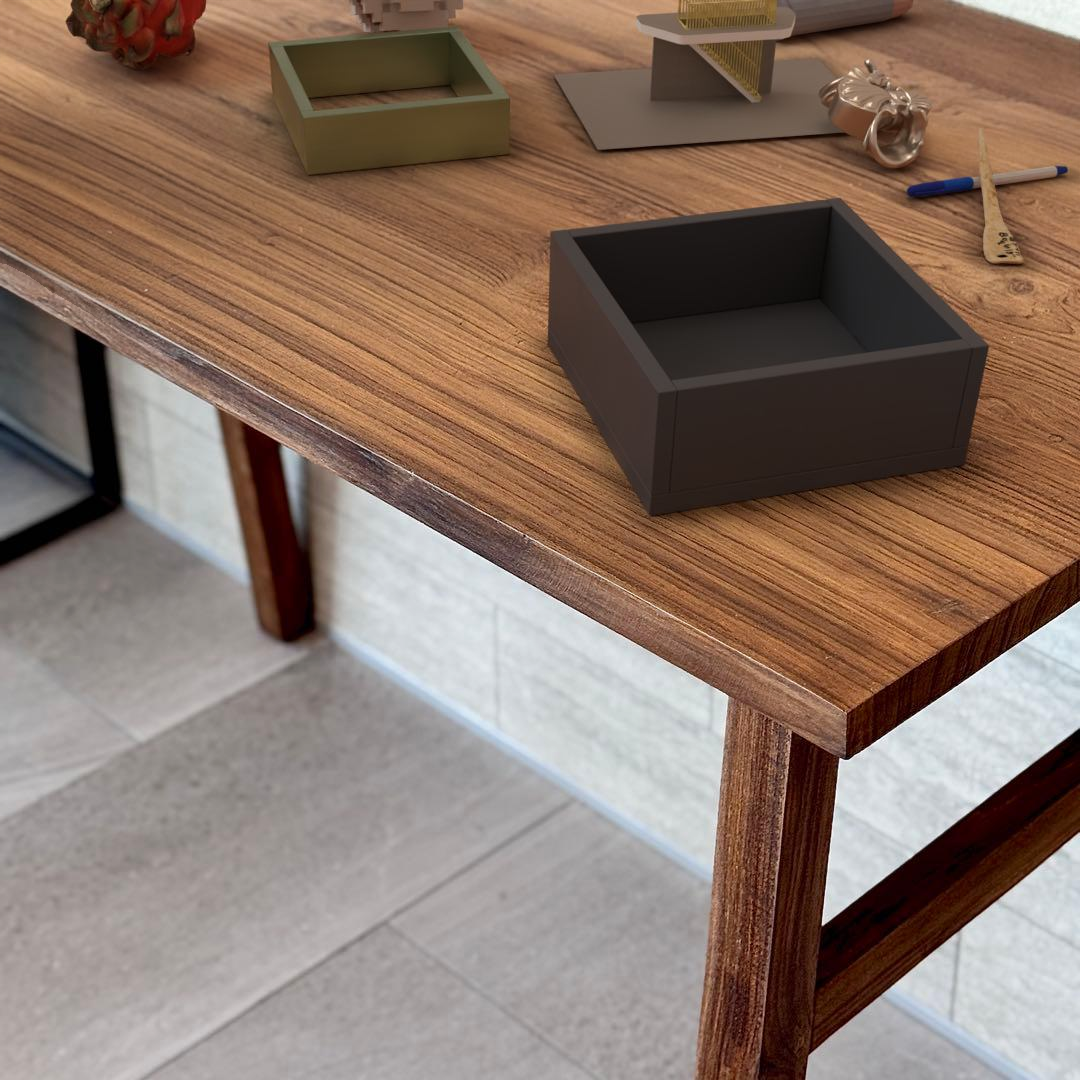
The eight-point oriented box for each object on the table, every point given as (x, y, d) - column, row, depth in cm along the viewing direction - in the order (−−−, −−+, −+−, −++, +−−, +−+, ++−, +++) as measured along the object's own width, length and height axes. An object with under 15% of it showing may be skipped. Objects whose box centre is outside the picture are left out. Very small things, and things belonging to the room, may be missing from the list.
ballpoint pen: (903, 198, 95) (912, 205, 94) (905, 183, 94) (914, 190, 93) (1061, 171, 98) (1071, 178, 97) (1064, 157, 97) (1074, 164, 96)
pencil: (781, 49, 113) (791, 8, 111) (757, 27, 115) (767, -13, 113) (912, 27, 118) (924, -12, 116) (887, 7, 120) (898, -33, 118)
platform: (885, 129, 102) (901, 22, 98) (597, 149, 98) (602, 40, 94) (817, 58, 111) (830, -42, 107) (553, 74, 108) (556, -28, 104)
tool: (998, 133, 98) (964, 132, 98) (1001, 122, 97) (966, 121, 97) (1022, 273, 88) (984, 272, 88) (1025, 262, 88) (986, 260, 88)
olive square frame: (307, 175, 95) (303, 117, 93) (272, 96, 104) (268, 41, 102) (509, 154, 98) (510, 97, 96) (458, 79, 107) (458, 25, 105)
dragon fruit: (119, 119, 105) (150, 75, 115) (223, 37, 103) (245, 0, 113) (23, 5, 101) (64, -29, 112) (129, -81, 99) (160, -108, 110)
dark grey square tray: (649, 516, 69) (658, 392, 66) (547, 344, 80) (550, 230, 77) (965, 465, 73) (990, 345, 69) (825, 307, 84) (840, 196, 80)
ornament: (950, 173, 99) (977, 120, 97) (857, 174, 96) (882, 118, 94) (882, 100, 104) (905, 47, 102) (791, 98, 101) (813, 44, 98)
